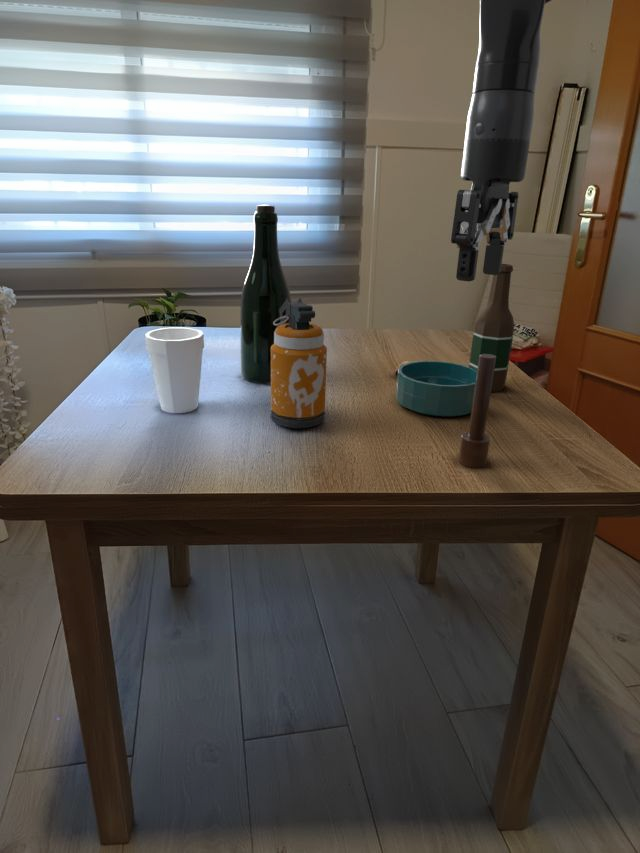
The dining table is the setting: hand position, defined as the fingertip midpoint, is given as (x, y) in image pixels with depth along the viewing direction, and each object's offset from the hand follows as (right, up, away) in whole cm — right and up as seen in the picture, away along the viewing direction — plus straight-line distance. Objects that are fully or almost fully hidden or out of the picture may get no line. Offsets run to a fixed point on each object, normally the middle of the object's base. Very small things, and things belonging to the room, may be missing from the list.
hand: (478, 277), depth 74 cm
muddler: (+2, -25, +9) cm, 26 cm away
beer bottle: (+13, -11, +42) cm, 46 cm away
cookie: (0, -9, +46) cm, 47 cm away
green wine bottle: (-32, -9, +44) cm, 55 cm away
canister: (-25, -18, +23) cm, 38 cm away
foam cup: (-45, -16, +26) cm, 55 cm away
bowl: (+1, -15, +32) cm, 35 cm away
